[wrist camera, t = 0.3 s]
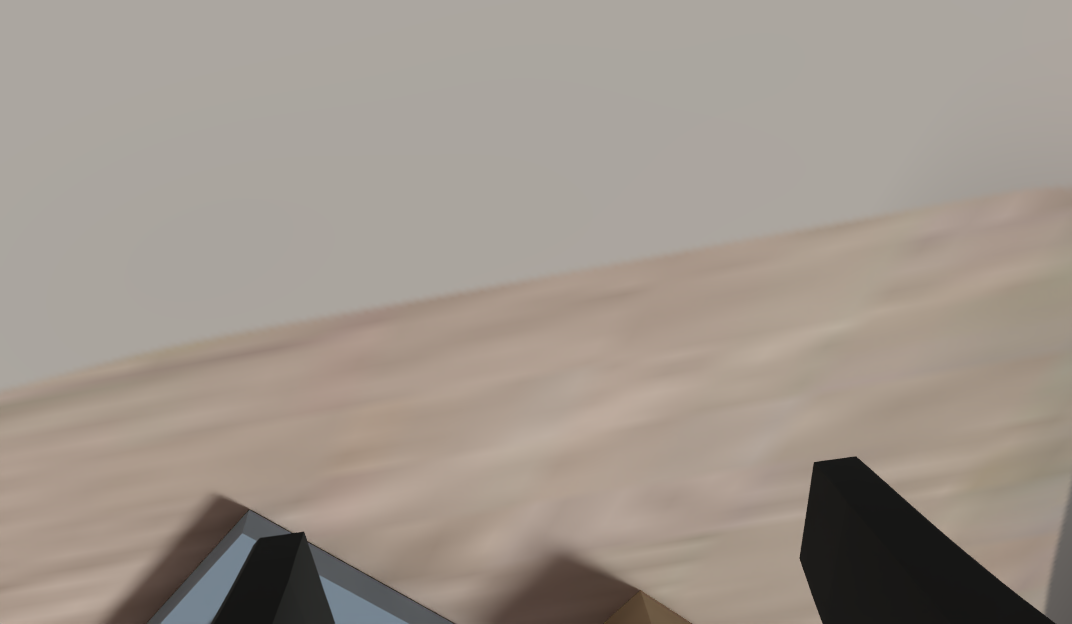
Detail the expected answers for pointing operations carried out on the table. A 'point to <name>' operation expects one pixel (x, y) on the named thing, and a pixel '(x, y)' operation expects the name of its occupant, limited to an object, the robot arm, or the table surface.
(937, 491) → the table surface
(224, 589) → the baseplate
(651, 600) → the brass cube
